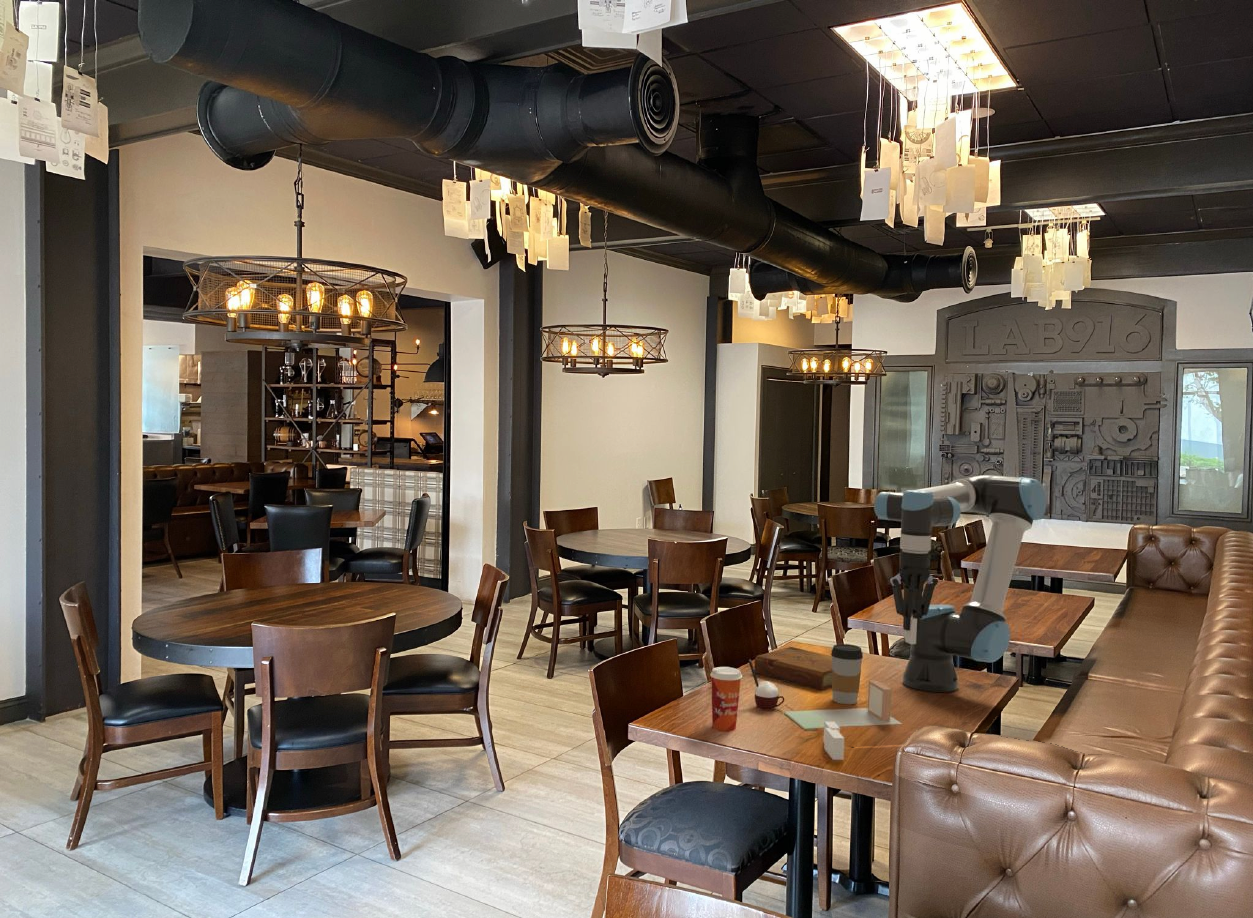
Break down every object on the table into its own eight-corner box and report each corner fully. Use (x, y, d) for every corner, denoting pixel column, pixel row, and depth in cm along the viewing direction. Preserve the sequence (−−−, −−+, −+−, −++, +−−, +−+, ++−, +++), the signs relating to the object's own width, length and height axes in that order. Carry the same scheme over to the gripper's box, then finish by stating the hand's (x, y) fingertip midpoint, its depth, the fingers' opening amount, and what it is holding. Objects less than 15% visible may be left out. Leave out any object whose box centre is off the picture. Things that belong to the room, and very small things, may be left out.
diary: (754, 675, 283) (754, 656, 283) (789, 665, 297) (790, 646, 296) (821, 692, 267) (822, 672, 267) (856, 680, 281) (856, 661, 281)
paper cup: (715, 733, 228) (717, 675, 228) (703, 723, 236) (705, 666, 235) (745, 731, 231) (748, 674, 230) (733, 721, 238) (735, 665, 237)
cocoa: (785, 709, 250) (790, 664, 250) (774, 714, 245) (779, 668, 245) (752, 700, 256) (757, 656, 255) (741, 705, 251) (746, 660, 250)
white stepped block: (846, 767, 211) (847, 741, 210) (798, 755, 217) (799, 730, 217) (870, 748, 223) (871, 724, 223) (824, 738, 229) (825, 714, 229)
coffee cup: (861, 709, 252) (864, 652, 251) (828, 706, 253) (831, 649, 253) (860, 700, 260) (862, 645, 259) (828, 697, 262) (831, 642, 261)
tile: (874, 710, 249) (876, 680, 248) (889, 720, 241) (891, 689, 241) (867, 711, 248) (868, 680, 248) (882, 721, 241) (884, 689, 240)
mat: (876, 709, 252) (877, 707, 252) (902, 725, 239) (902, 723, 239) (784, 713, 246) (784, 711, 246) (804, 730, 233) (804, 728, 233)
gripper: (930, 549, 250) (925, 638, 251) (884, 548, 247) (879, 639, 248) (946, 553, 242) (941, 645, 244) (899, 553, 239) (894, 646, 241)
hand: (910, 642), depth 246 cm, fingers closed
